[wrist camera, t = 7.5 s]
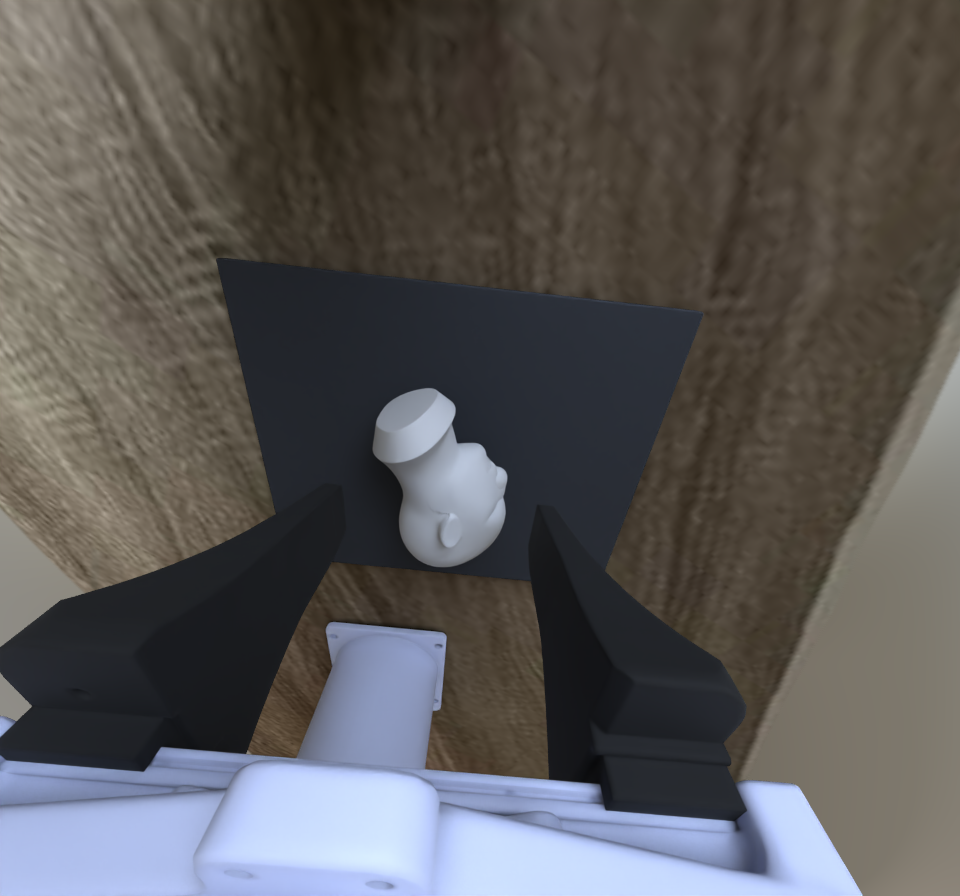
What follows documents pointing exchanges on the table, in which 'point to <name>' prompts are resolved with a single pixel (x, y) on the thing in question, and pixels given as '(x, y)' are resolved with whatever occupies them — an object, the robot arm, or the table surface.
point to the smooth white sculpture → (439, 480)
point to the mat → (454, 396)
